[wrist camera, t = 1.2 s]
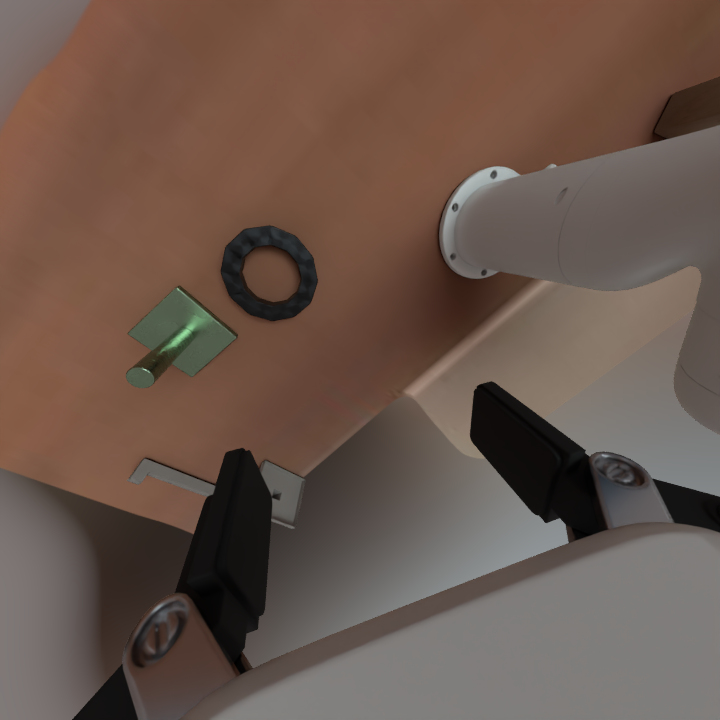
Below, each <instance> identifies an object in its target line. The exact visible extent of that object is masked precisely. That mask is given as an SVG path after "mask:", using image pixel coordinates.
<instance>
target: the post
mask: <svg viewBox="0 0 720 720" xmlns="http://www.w3.org/2000/svg"><path fill="white" fill-rule="evenodd" d="M128 335H130V336H131V337H133V338H134V339H136V340H137V341H139V342H140V343H142V344H143V345H145V346H146V347H148V348H149V349H151V350H152V351H151V352H150V353H148V354H147V355H146V356H145V357H144V358H142V359H141V360H140V361H139V362H138V363H137V364H135V365H134V366H133V367H132V368H131V369H129V370H128V371H127V373H126V379H127V381H128V382H129V383H130V384H131V385H133V386H135V387H138V388H147V387H150V386H152V385H153V384H154V383H155V381H156V380H157V379H158V378H159V377H160V376H161V375H162V374H163V373H164V372H165V371H166V370H167V368H168V367H169V366H170V365H171V364H173V365H174V366H176V367H177V368H179V369H180V370H182V371H183V372H185V373H186V374H187V375H189V376H190V377H193V376H194V375H195V374H196V373H197V372H199V371H200V370H201V369H202V368H203V367H204V366H205V365H206V364H208V363H209V362H210V361H211V360H212V359H213V358H214V357H215V356H217V355H218V354H219V353H220V352H221V351H222V350H223V349H225V348H226V347H227V346H228V345H229V344H230V343H231V342H232V341H234V340H235V339H236V338H237V336H238V334H236V333H235V332H234V331H233V330H232V329H230V328H229V327H228V326H227V325H226V324H225V323H223V322H222V321H221V320H220V319H219V318H217V317H216V316H215V315H214V314H213V313H212V312H210V311H209V310H208V309H207V308H206V307H204V306H203V305H202V304H201V303H200V302H199V301H197V300H196V299H195V298H194V297H193V296H191V295H190V294H189V293H188V292H187V291H185V290H184V289H183V288H182V287H181V286H178V287H176V288H175V289H174V290H173V291H172V292H170V293H169V294H168V295H167V296H166V297H165V298H164V299H163V300H162V301H161V302H160V303H159V304H158V305H157V306H156V307H155V308H154V309H153V310H152V311H151V312H149V313H148V314H147V315H146V316H145V317H144V318H143V319H142V320H141V321H140V322H139V323H138V324H137V325H136V326H135V327H134V328H133V329H132V330H131V331H129V332H128Z"/></svg>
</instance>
